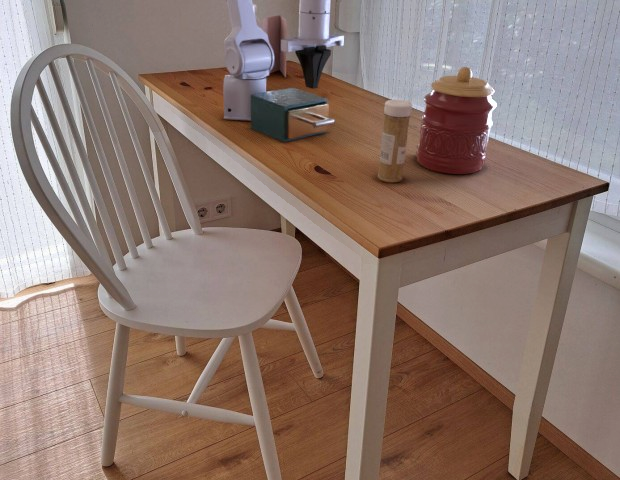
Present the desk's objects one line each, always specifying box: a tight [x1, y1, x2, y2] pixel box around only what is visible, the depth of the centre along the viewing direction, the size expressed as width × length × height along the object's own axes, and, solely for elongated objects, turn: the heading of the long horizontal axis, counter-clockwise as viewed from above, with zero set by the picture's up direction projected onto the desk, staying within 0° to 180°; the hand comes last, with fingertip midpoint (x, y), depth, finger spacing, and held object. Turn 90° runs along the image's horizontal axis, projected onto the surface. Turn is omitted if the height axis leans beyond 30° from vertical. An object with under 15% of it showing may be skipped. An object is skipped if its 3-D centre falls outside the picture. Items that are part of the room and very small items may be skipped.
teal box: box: [250, 87, 328, 143], centre depth 125 cm, size 11×12×7 cm
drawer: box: [286, 102, 335, 139], centre depth 123 cm, size 15×10×6 cm
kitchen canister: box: [416, 66, 497, 175], centre depth 109 cm, size 13×13×18 cm
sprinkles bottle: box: [377, 99, 413, 184], centre depth 102 cm, size 5×5×13 cm
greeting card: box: [261, 14, 288, 78], centre depth 170 cm, size 11×7×15 cm, turn 157°
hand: (311, 87), depth 117 cm, fingers closed
